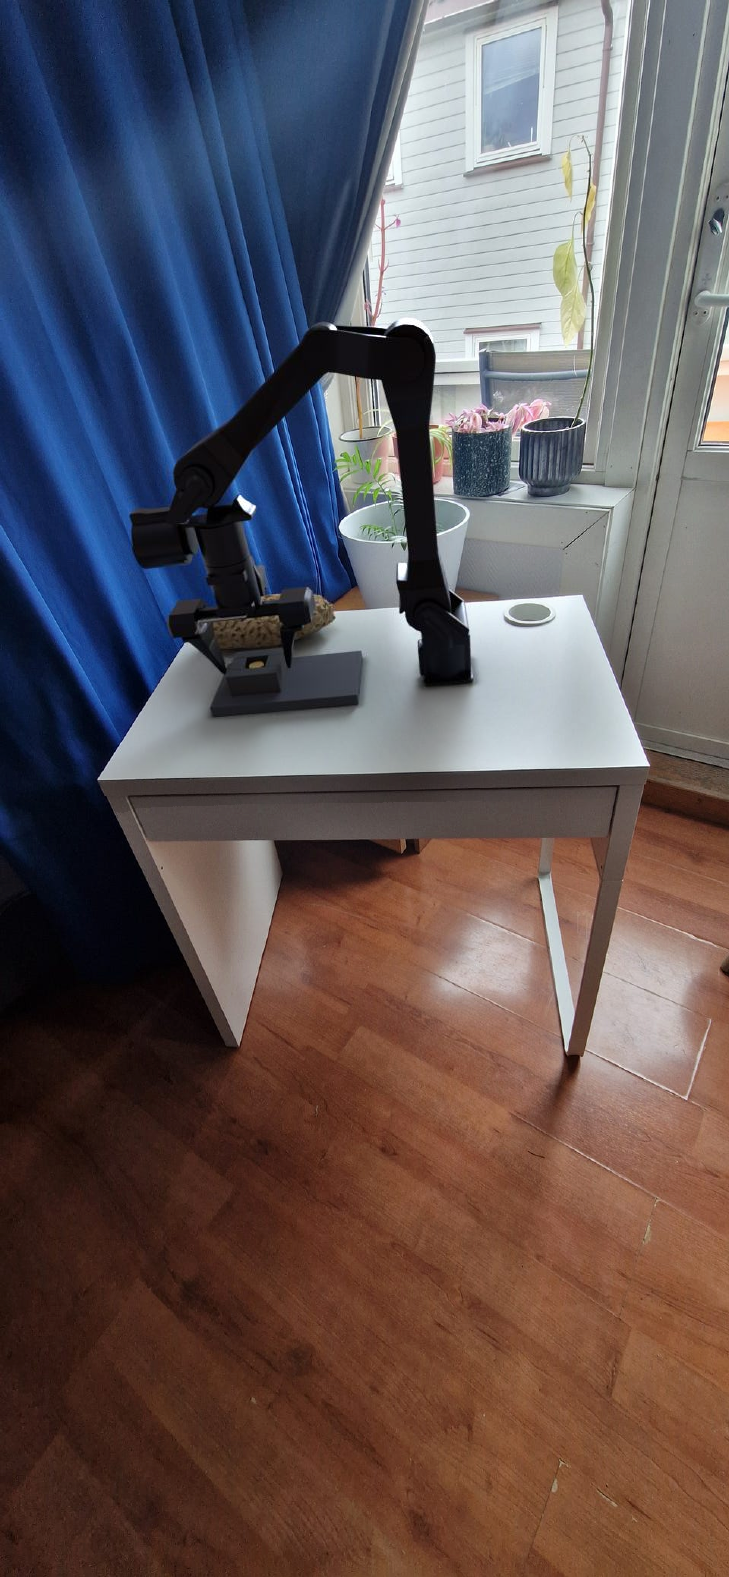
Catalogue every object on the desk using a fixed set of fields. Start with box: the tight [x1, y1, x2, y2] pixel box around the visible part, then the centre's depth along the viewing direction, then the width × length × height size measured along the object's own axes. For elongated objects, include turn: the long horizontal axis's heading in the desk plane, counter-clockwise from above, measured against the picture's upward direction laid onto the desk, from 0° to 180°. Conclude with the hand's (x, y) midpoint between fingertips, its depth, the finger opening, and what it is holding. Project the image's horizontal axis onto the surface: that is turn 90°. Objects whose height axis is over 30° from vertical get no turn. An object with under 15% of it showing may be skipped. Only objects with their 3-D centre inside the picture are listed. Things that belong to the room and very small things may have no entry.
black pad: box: [226, 647, 288, 696], centre depth 90 cm, size 7×7×3 cm
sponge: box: [213, 593, 336, 650], centre depth 102 cm, size 13×8×20 cm
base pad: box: [209, 650, 364, 718], centre depth 90 cm, size 20×12×4 cm, turn 87°
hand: (257, 669), depth 90 cm, fingers open, 9 cm apart
